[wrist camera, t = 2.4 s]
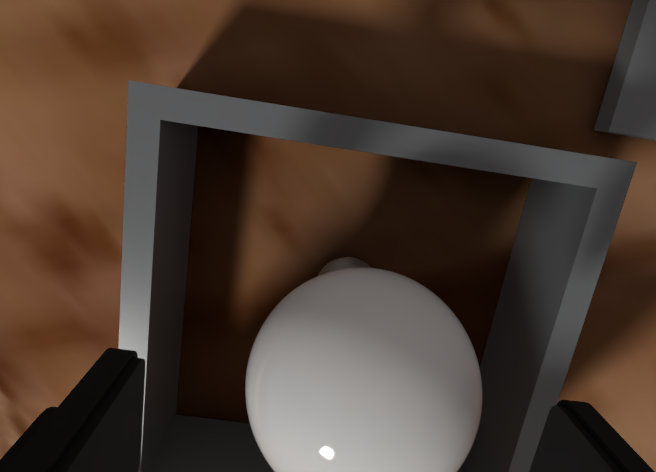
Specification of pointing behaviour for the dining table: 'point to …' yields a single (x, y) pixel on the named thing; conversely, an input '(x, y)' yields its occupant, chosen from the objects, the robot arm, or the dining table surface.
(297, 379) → the lightbulb
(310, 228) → the dining table surface
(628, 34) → the mat
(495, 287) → the dining table surface
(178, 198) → the case
